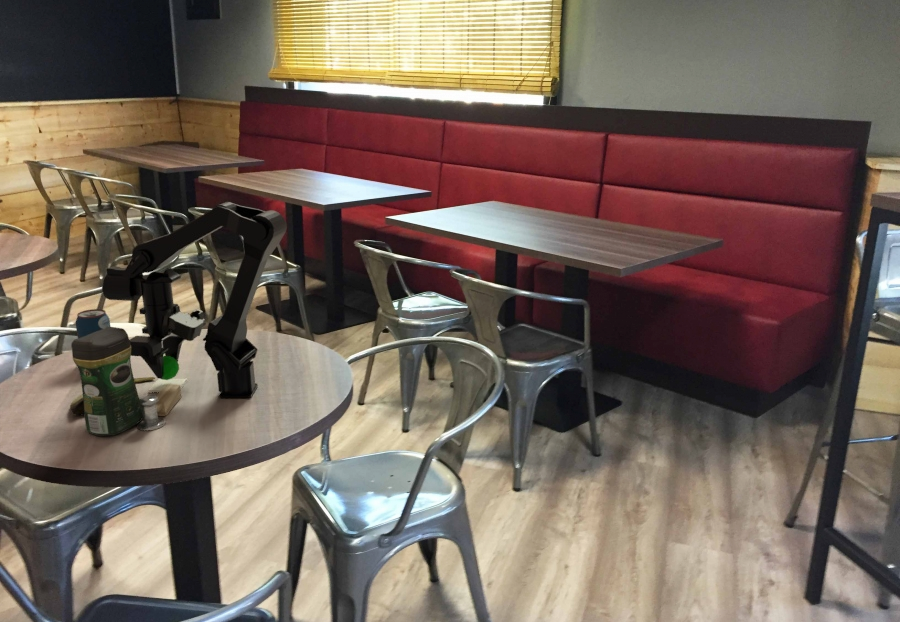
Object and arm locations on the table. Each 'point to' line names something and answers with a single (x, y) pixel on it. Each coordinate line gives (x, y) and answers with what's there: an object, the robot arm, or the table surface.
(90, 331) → the soda can
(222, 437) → the table surface
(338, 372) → the table surface
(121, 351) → the coffee jar
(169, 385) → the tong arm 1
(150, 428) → the grey spool
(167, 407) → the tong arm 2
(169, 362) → the polyhedron
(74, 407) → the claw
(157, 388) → the coaster
